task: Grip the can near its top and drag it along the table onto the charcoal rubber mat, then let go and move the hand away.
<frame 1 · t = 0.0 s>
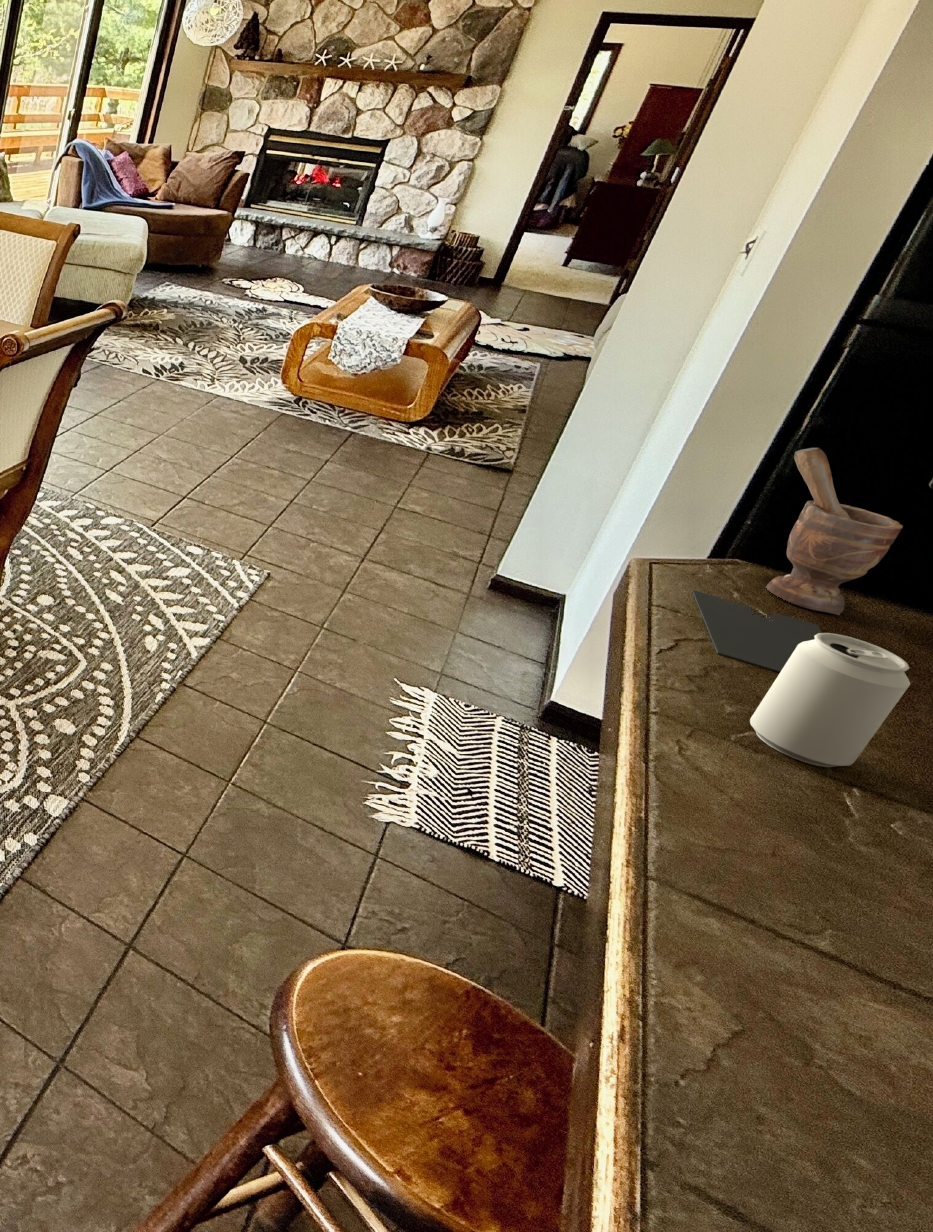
can: (794, 748, 93), on the countertop
mat: (768, 639, 113), on the countertop
mortar and pestle: (783, 596, 125), on the countertop
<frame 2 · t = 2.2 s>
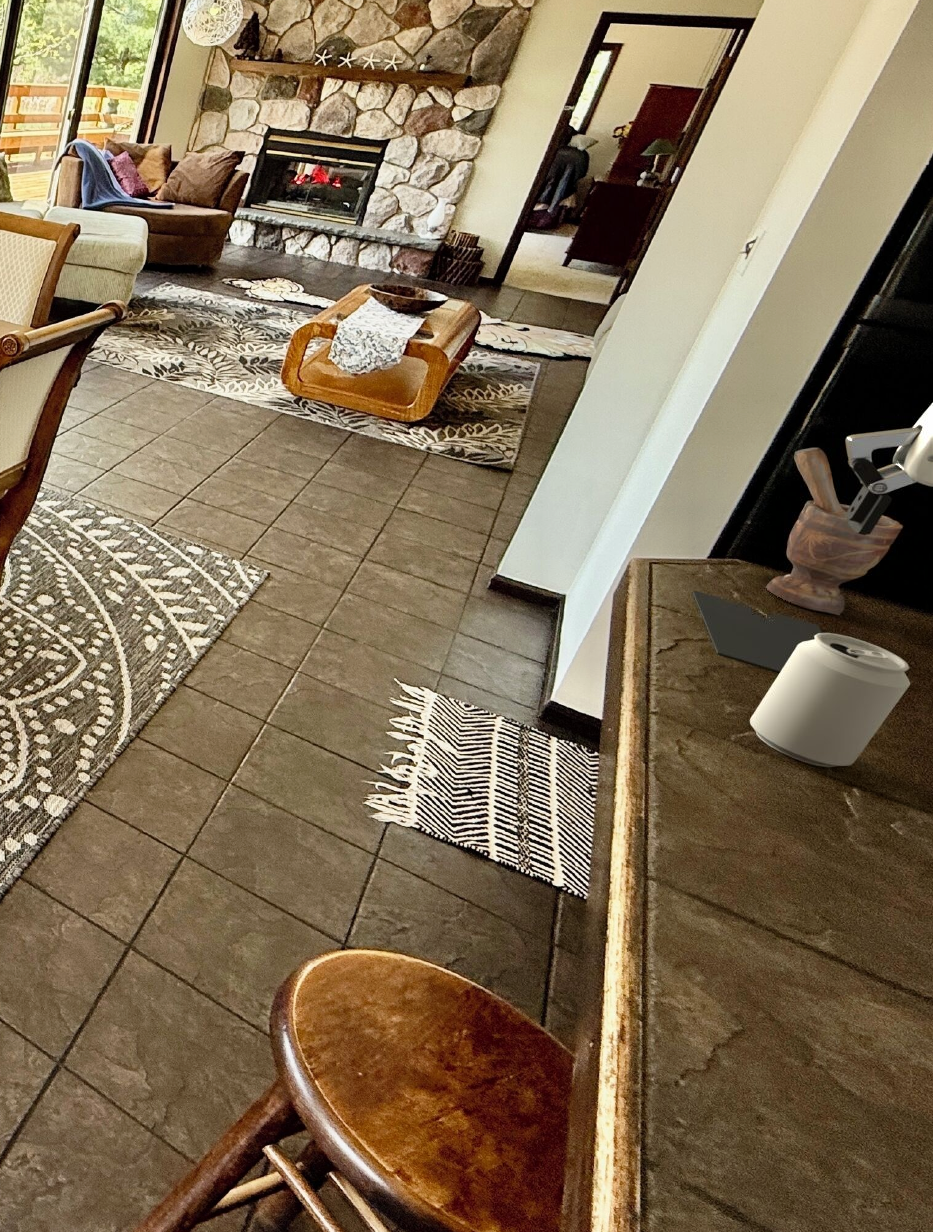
hand: (932, 547, 83), 23 cm above the countertop, tool pointing down, fingers open, 9 cm apart
nothing on the countertop moved.
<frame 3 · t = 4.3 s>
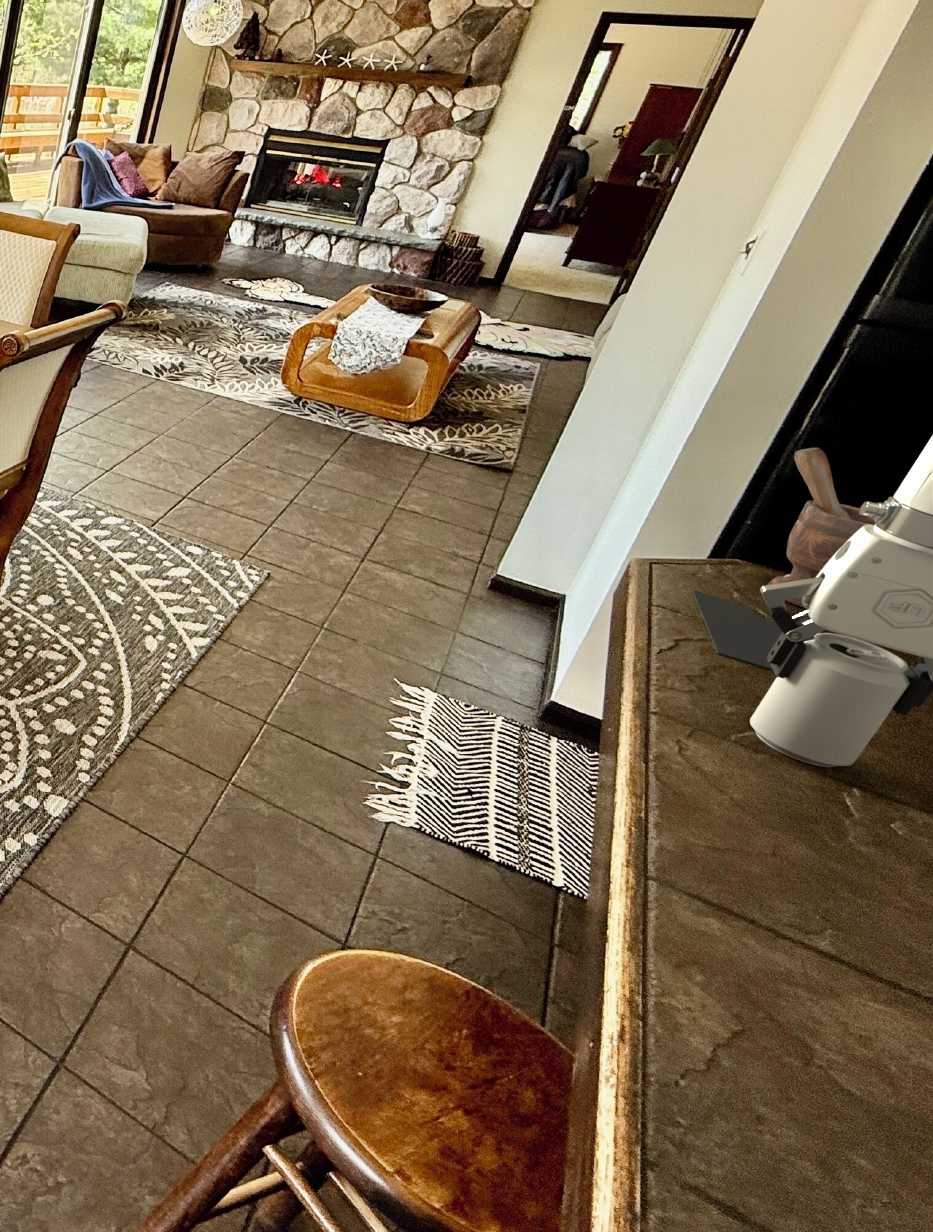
hand: (835, 688, 90), 7 cm above the countertop, tool pointing down, fingers closed on can, 7 cm apart
can: (795, 748, 93), on the countertop, touching gripper
everything else where it was.
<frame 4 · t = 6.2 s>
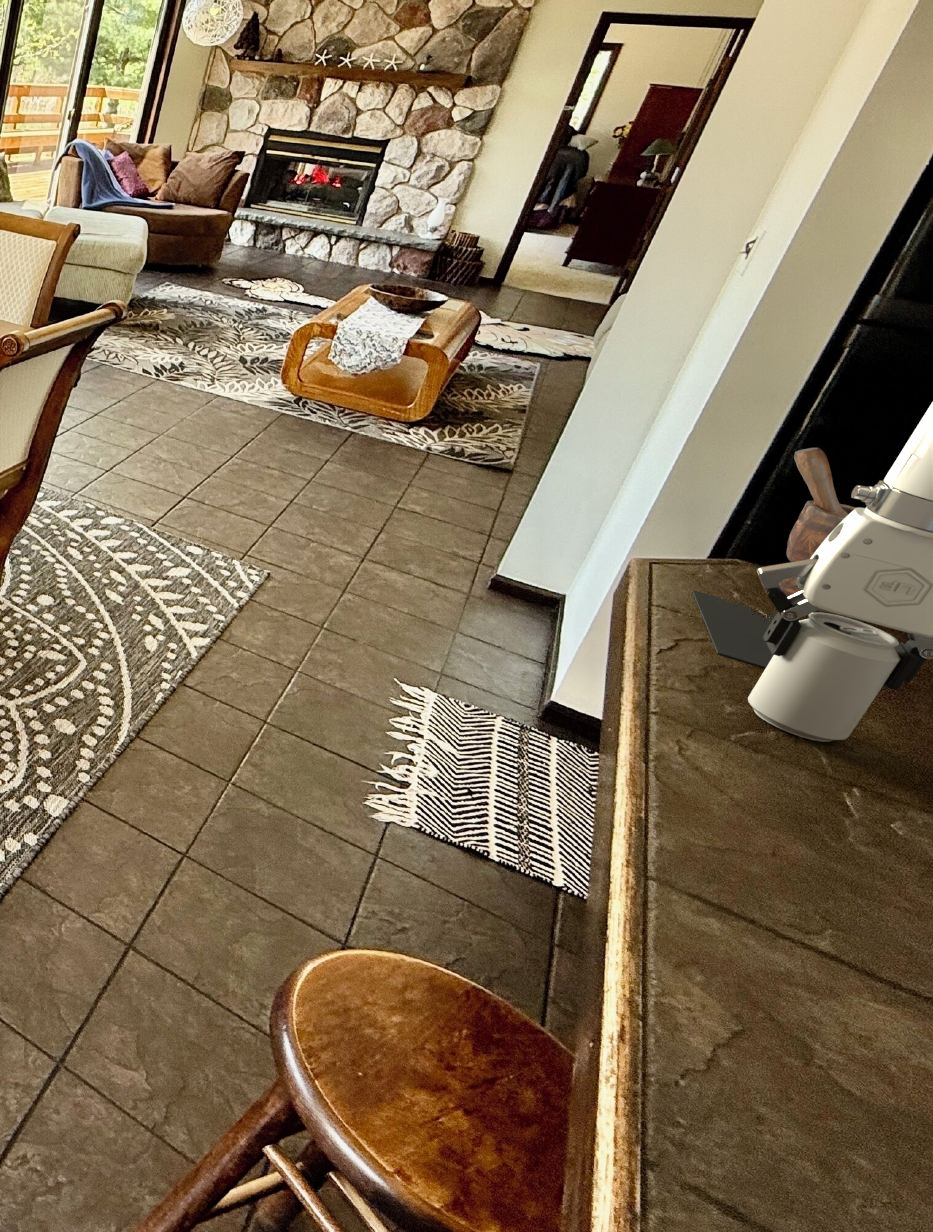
hand: (829, 665, 94), 7 cm above the countertop, tool pointing down, fingers closed on can, 7 cm apart
can: (791, 725, 97), on the countertop, touching gripper
everything else where it was.
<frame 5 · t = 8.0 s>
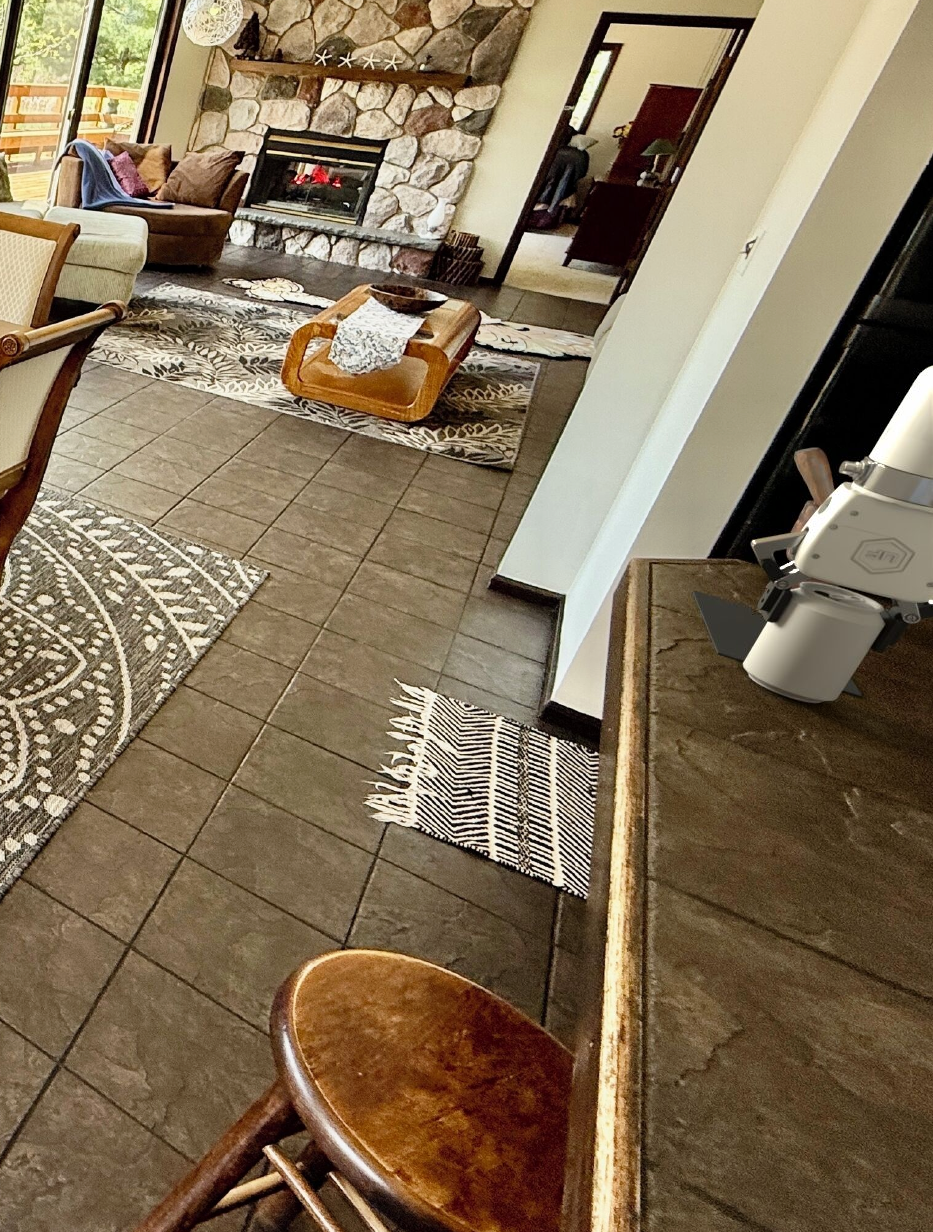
hand: (819, 631, 100), 8 cm above the countertop, tool pointing down, fingers closed on can, 7 cm apart
can: (783, 688, 103), on the countertop, touching gripper
everything else where it was.
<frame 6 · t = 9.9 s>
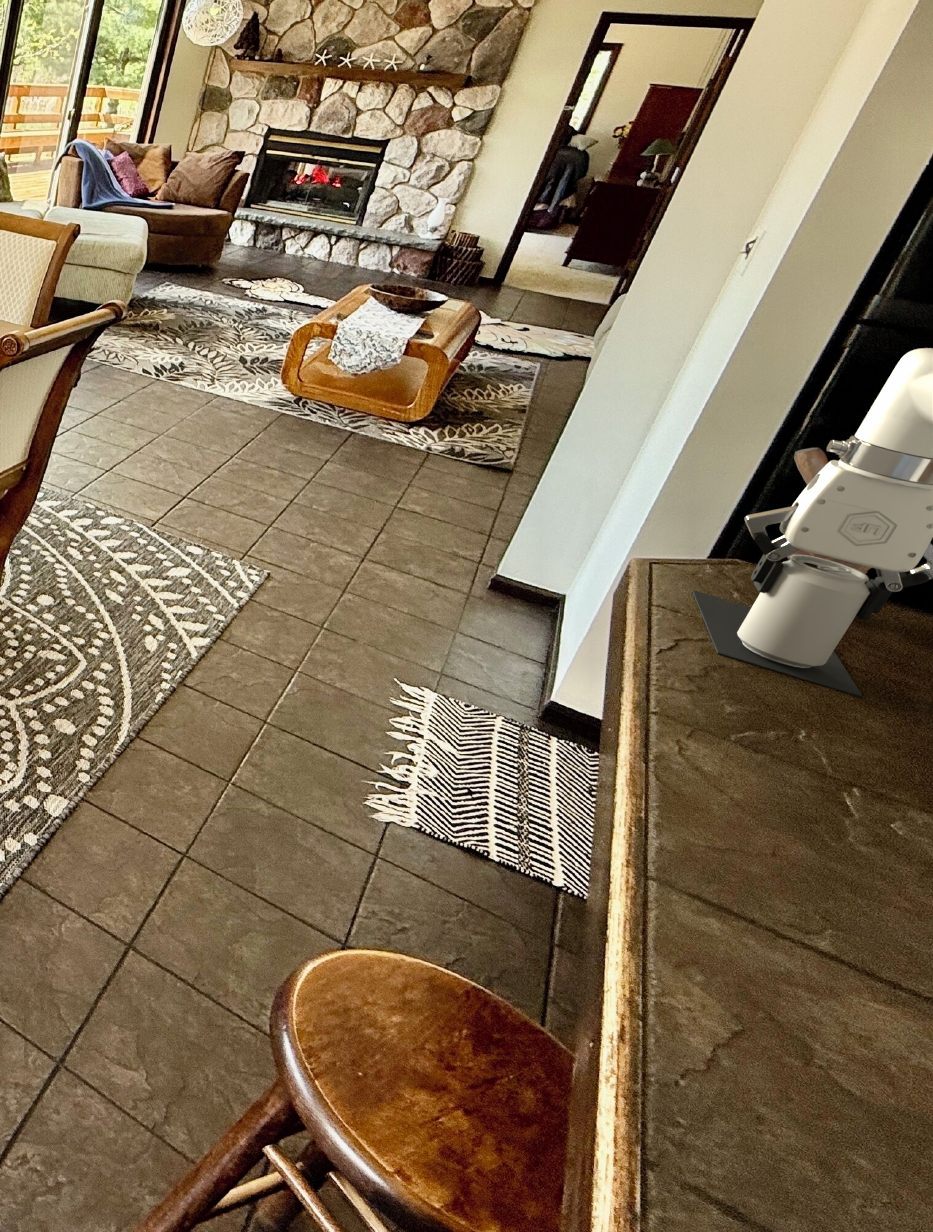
hand: (808, 600, 107), 8 cm above the countertop, tool pointing down, fingers closed on can, 7 cm apart
can: (775, 655, 109), resting on mat, touching gripper
everything else where it was.
when the fingers open (8 cm above the countertop, at t = 11.5 s): can stays where it is, resting on mat.
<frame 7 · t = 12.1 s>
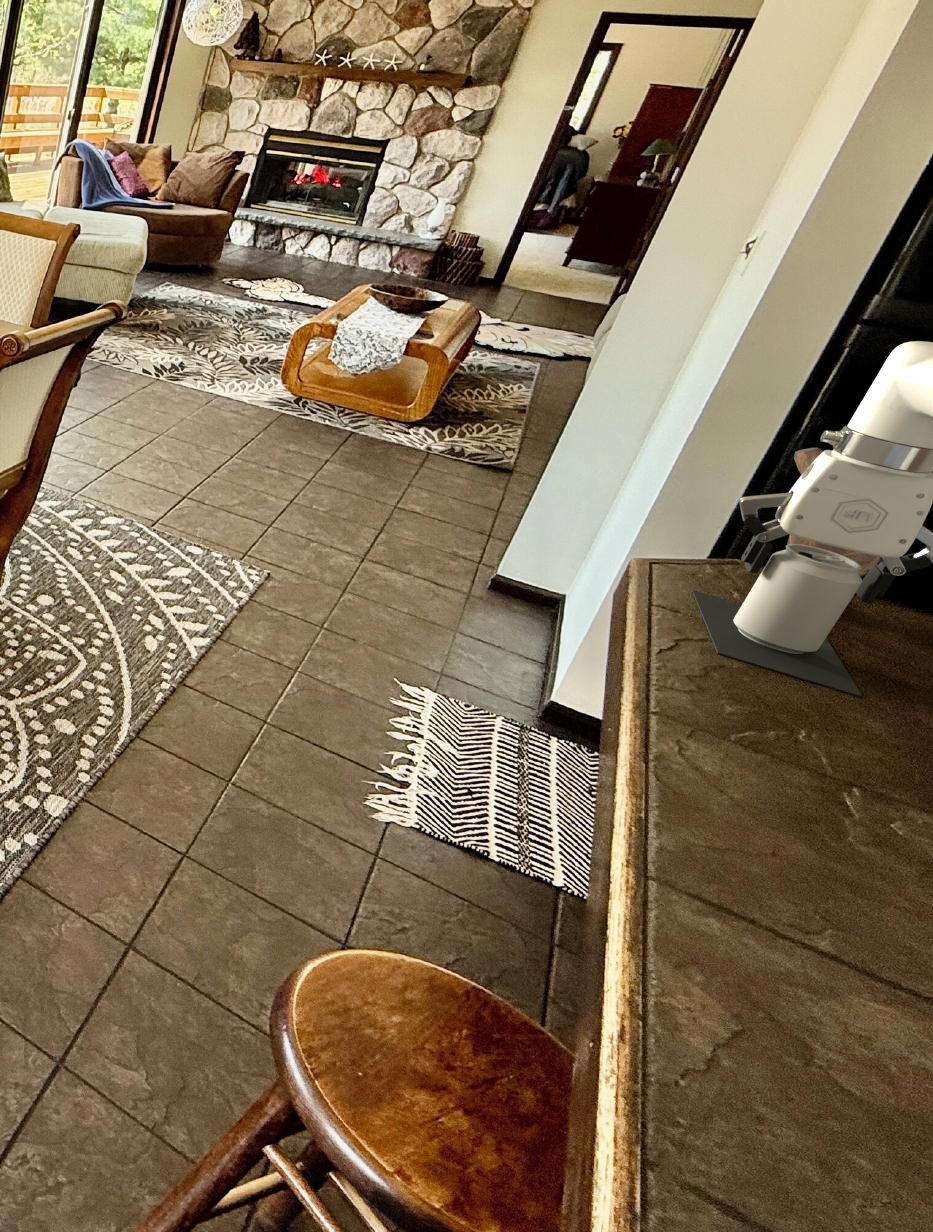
hand: (805, 583, 110), 8 cm above the countertop, tool pointing down, fingers open, 9 cm apart
can: (770, 641, 113), resting on mat
everything else where it was.
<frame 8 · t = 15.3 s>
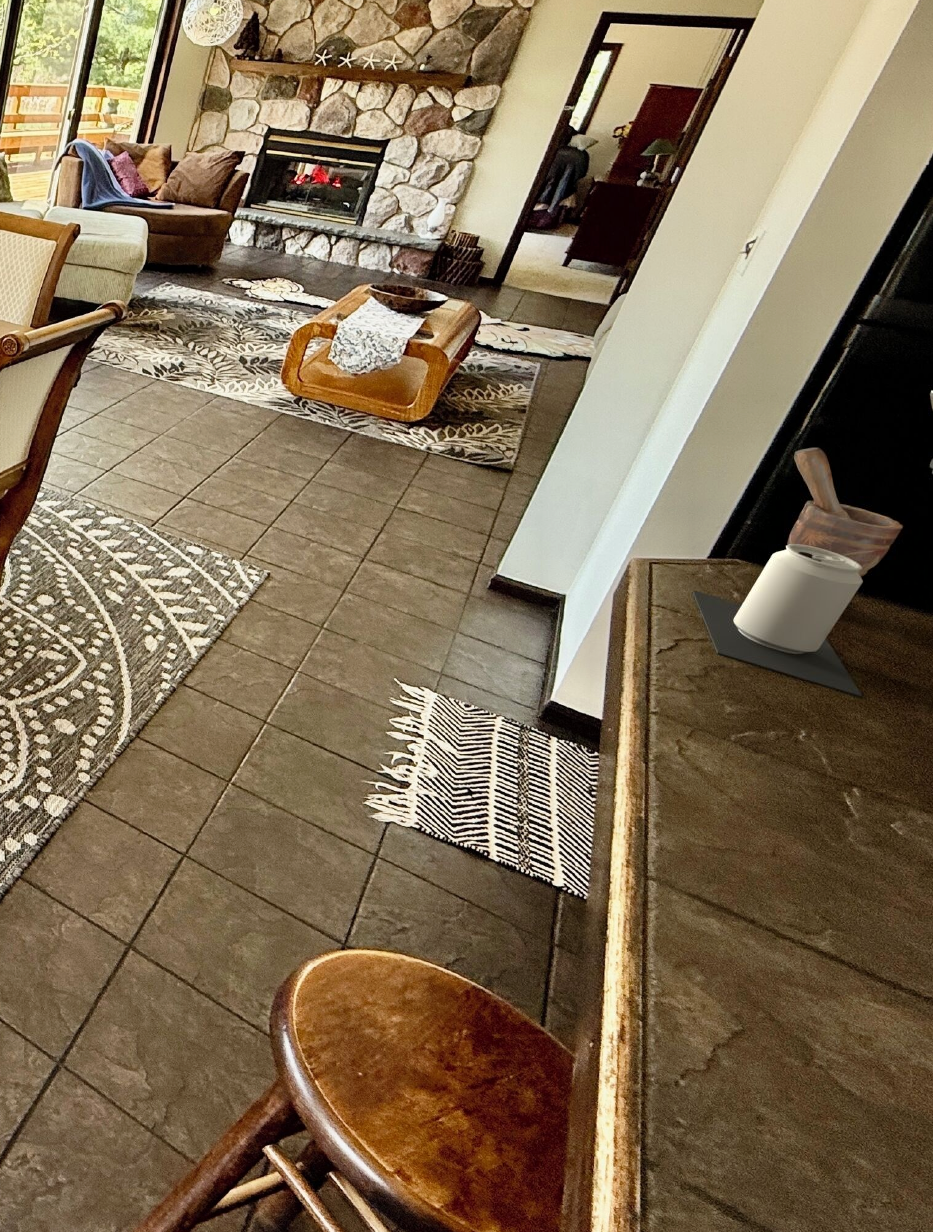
nothing on the countertop moved.
at the end: can inside the target area on the mat (0.5 cm from its centre), point 0.0 cm above the mat's base; can tilted 0°; the gripper is holding nothing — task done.
